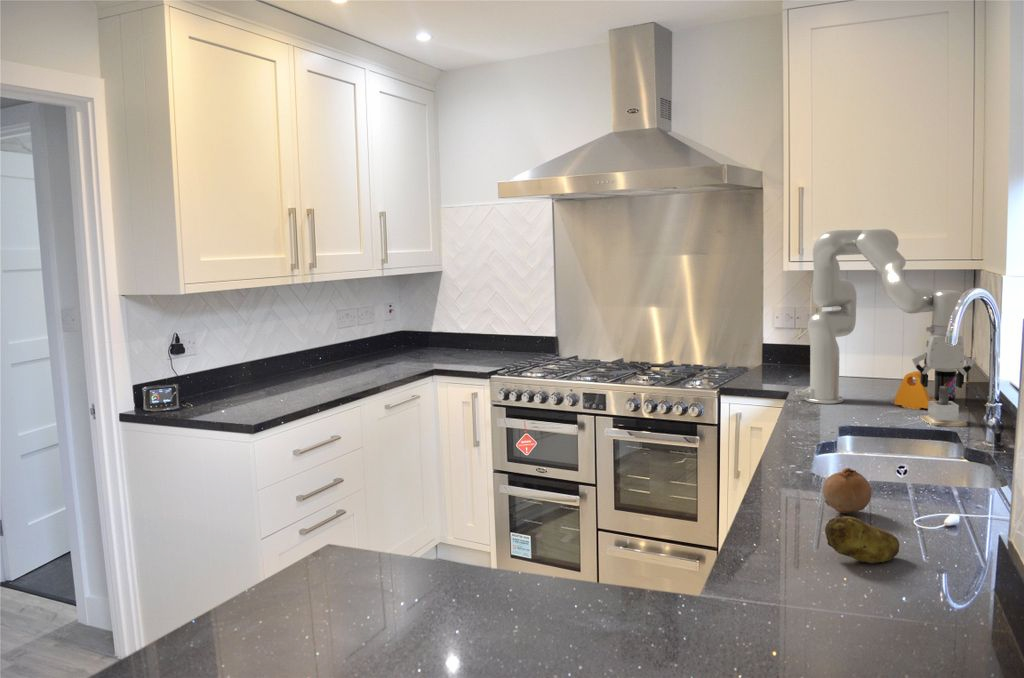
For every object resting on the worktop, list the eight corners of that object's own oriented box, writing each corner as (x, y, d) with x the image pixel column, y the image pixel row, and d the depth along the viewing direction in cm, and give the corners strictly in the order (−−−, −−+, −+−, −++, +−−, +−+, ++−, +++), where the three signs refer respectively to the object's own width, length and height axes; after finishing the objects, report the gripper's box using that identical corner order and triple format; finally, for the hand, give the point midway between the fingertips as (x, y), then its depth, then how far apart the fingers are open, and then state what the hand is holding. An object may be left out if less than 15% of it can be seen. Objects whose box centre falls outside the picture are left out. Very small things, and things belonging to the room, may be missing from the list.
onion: (868, 524, 161) (869, 476, 160) (819, 517, 166) (820, 471, 165) (873, 509, 169) (874, 464, 168) (826, 504, 174) (826, 459, 173)
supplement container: (933, 400, 274) (933, 371, 273) (934, 397, 280) (935, 368, 278) (955, 402, 271) (956, 372, 269) (956, 398, 276) (957, 369, 275)
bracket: (936, 407, 264) (937, 371, 263) (928, 411, 259) (929, 374, 258) (903, 403, 272) (904, 368, 271) (894, 406, 267) (895, 371, 266)
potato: (905, 572, 138) (907, 527, 137) (826, 566, 142) (827, 523, 141) (896, 553, 146) (897, 511, 145) (821, 548, 149) (822, 508, 149)
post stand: (930, 426, 239) (932, 390, 238) (920, 418, 249) (921, 384, 248) (967, 426, 237) (968, 390, 236) (954, 418, 247) (955, 384, 246)
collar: (935, 421, 240) (935, 405, 240) (927, 416, 247) (928, 401, 246) (958, 421, 239) (958, 405, 239) (950, 416, 246) (951, 401, 245)
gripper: (918, 332, 238) (915, 388, 240) (981, 333, 235) (977, 389, 237) (910, 329, 245) (907, 383, 248) (971, 329, 242) (967, 384, 245)
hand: (941, 386), depth 242 cm, fingers open, 9 cm apart
